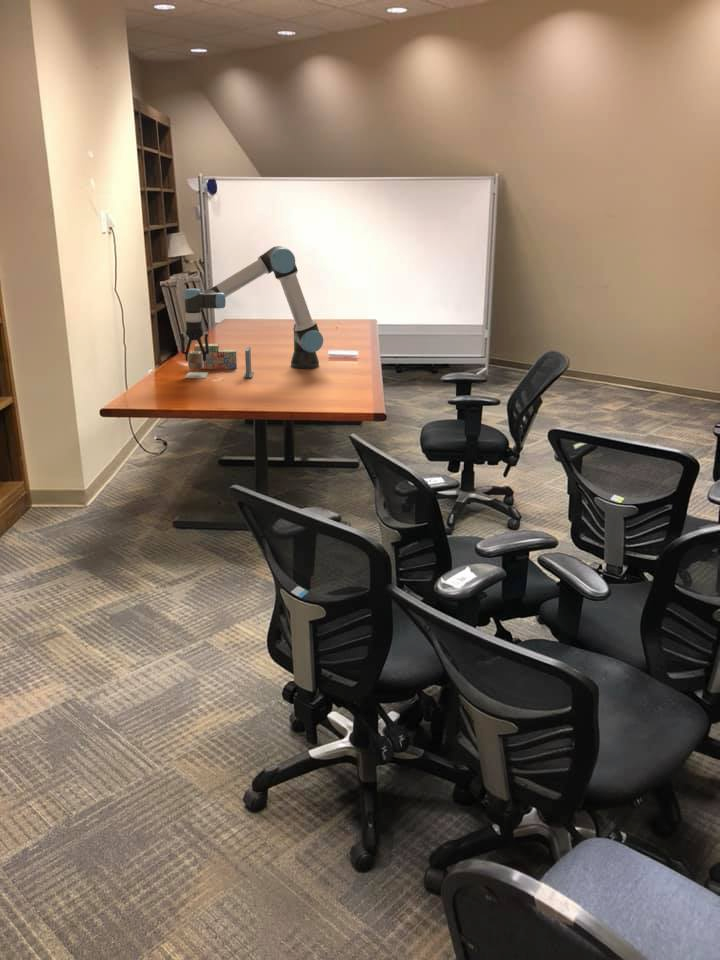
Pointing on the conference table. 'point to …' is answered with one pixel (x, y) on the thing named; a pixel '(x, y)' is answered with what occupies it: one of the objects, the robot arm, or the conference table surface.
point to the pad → (197, 375)
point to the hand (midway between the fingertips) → (196, 367)
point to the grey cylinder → (195, 360)
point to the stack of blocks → (218, 357)
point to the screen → (248, 364)
